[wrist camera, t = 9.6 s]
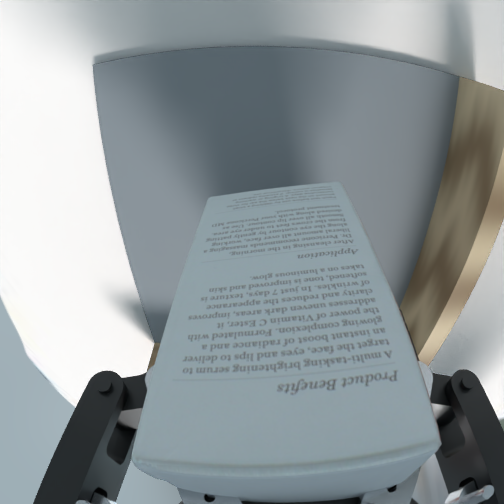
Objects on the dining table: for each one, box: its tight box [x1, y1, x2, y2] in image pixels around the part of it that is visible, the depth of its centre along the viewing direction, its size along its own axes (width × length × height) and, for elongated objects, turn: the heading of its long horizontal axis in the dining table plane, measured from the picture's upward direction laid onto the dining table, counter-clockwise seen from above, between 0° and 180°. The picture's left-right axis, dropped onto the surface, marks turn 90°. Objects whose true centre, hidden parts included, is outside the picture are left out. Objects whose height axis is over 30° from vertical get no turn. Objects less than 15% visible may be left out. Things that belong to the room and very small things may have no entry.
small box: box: [131, 182, 442, 503], centre depth 10 cm, size 8×6×10 cm
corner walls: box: [147, 77, 504, 371], centre depth 17 cm, size 22×20×5 cm
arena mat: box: [93, 46, 460, 343], centre depth 19 cm, size 21×19×1 cm
